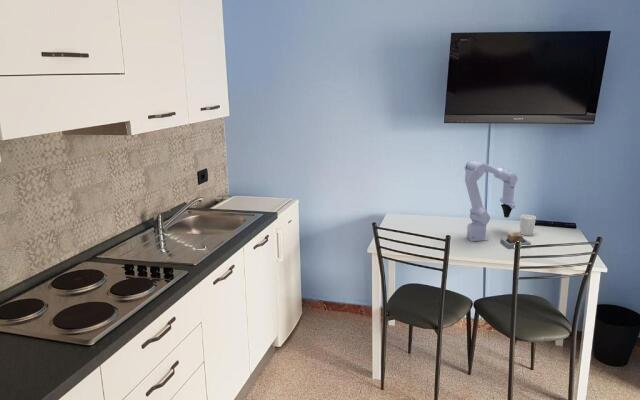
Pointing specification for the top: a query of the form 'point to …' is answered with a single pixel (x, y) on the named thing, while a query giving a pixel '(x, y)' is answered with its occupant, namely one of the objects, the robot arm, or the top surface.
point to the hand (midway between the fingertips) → (506, 217)
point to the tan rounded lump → (514, 238)
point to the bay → (511, 246)
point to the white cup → (527, 224)
